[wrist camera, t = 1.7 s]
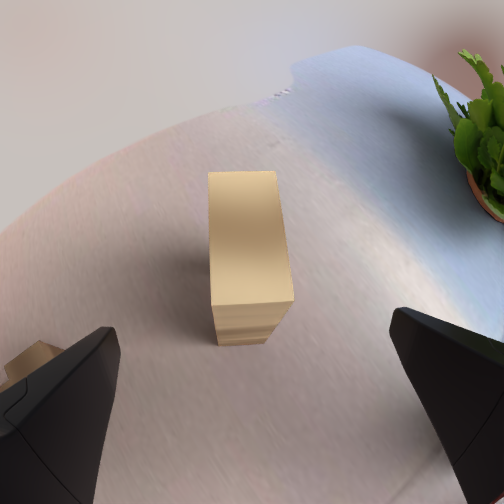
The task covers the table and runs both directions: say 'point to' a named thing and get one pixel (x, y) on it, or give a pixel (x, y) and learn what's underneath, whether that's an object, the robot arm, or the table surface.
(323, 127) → the table surface
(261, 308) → the tall wooden block
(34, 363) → the lower notched wooden block
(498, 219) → the potted flower
